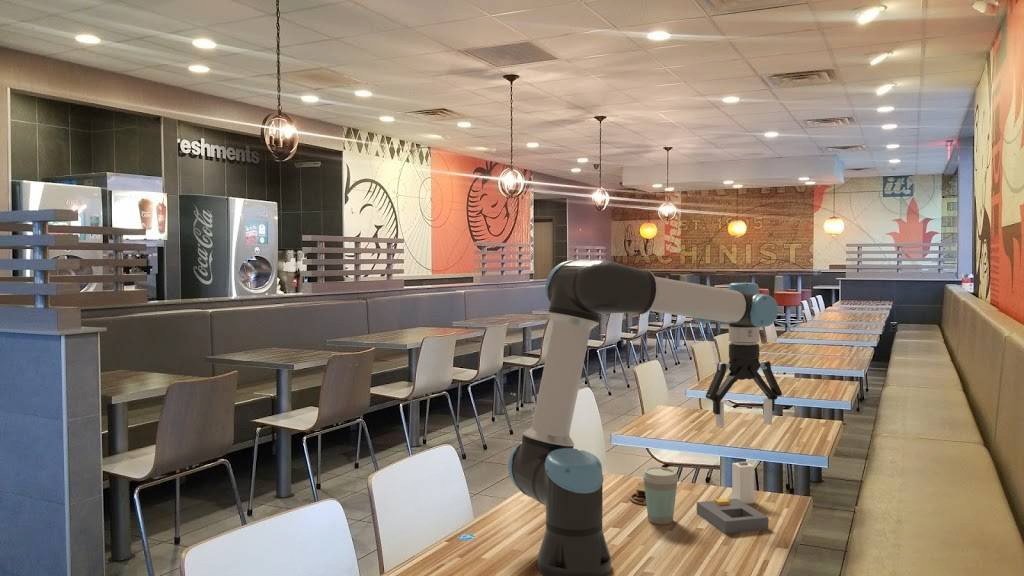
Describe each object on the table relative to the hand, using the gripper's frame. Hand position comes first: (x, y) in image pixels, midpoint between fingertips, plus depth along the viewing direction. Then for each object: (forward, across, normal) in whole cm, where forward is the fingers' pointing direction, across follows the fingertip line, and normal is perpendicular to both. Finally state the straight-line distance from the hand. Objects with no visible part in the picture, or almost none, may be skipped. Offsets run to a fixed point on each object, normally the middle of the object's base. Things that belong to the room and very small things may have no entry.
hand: (744, 425), depth 191 cm
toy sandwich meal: (+20, -23, +8) cm, 32 cm away
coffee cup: (+20, -26, -7) cm, 34 cm away
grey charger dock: (+20, -10, -12) cm, 26 cm away
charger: (+20, 0, 0) cm, 20 cm away
